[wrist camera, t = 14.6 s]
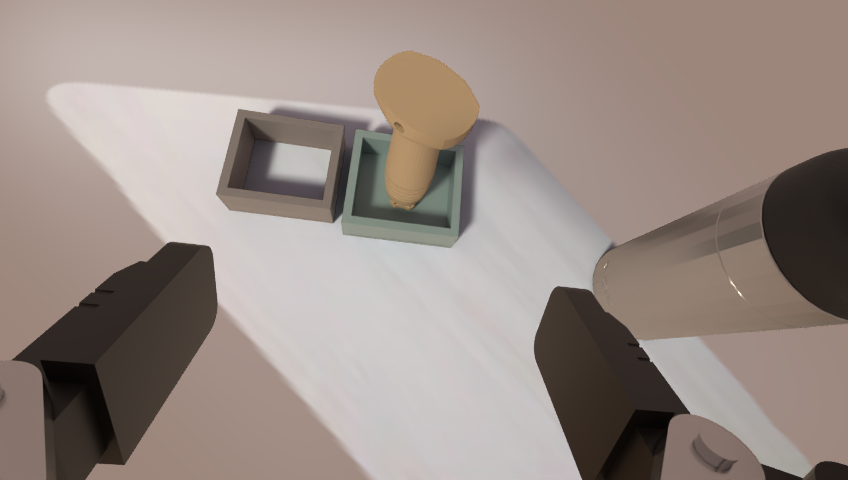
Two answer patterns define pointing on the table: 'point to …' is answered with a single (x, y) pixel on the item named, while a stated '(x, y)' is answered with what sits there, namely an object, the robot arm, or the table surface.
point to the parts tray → (380, 220)
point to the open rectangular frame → (281, 131)
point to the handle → (420, 120)
